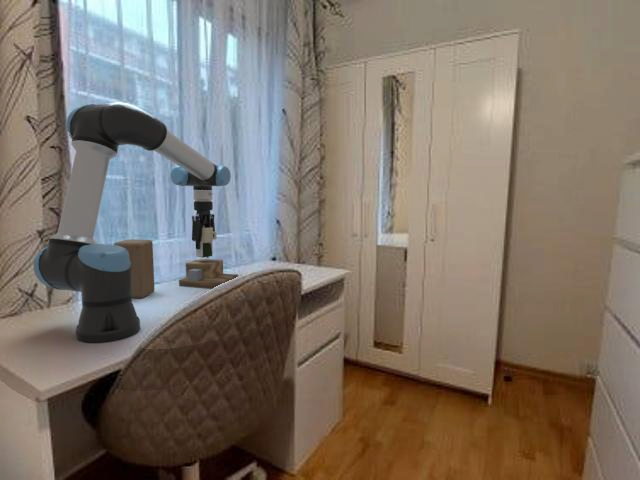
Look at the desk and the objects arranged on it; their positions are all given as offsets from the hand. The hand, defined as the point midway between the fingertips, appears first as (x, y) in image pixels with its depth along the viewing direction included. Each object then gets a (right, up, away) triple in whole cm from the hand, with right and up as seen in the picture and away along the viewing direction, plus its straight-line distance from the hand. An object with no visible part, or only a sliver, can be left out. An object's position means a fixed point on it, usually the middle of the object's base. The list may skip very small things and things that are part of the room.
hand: (204, 255), depth 162 cm
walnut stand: (+3, -12, -2) cm, 12 cm away
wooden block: (-19, -14, -21) cm, 31 cm away
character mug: (0, -1, 0) cm, 1 cm away
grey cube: (-2, -10, -7) cm, 12 cm away
